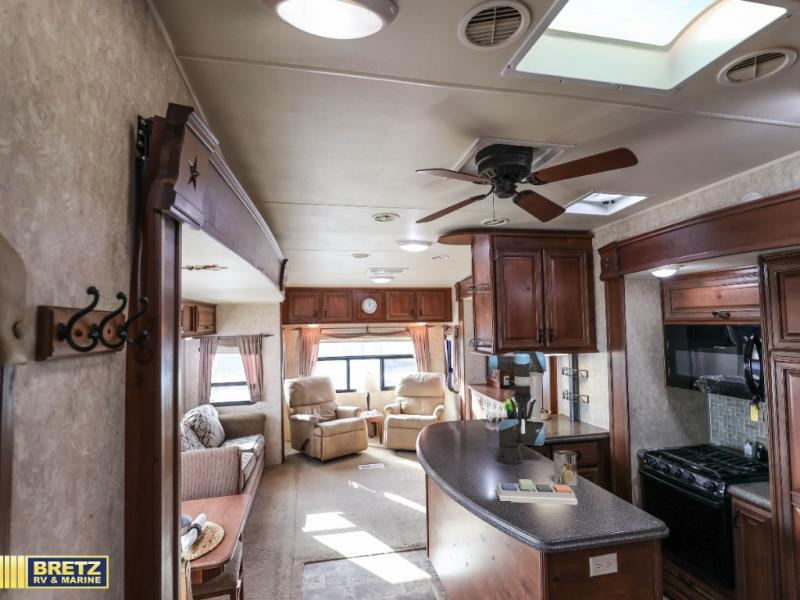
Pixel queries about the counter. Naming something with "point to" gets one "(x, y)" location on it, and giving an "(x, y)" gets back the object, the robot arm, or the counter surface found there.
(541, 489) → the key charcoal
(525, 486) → the key sage
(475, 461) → the counter surface
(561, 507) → the counter surface
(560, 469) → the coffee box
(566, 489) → the key coral
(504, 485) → the key slate blue
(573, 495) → the keypad board
